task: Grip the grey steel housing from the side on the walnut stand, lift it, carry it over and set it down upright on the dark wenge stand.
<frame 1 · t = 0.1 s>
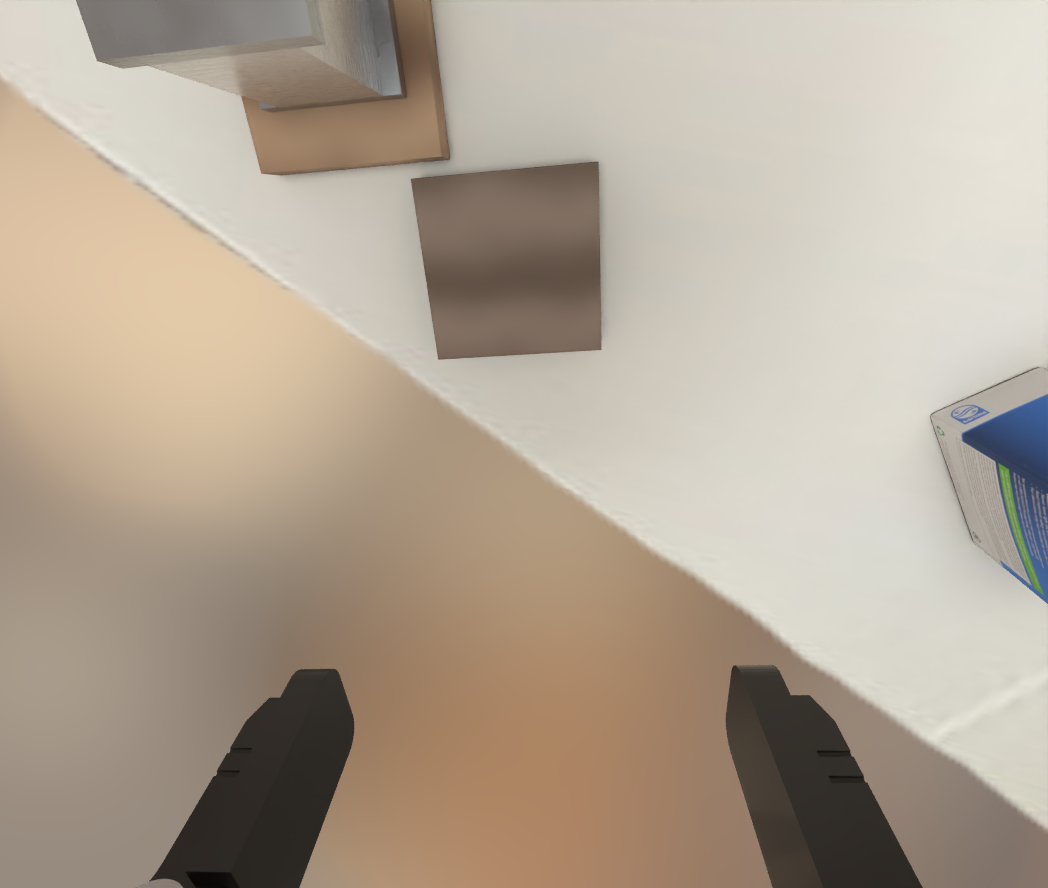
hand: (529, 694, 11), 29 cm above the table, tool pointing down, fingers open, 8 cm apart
housing: (328, 51, 28), point 2 cm above the table, touching stand a
stand b: (514, 264, 35), on the table
string lights box: (998, 460, 39), on the table
stand a: (345, 62, 31), on the table
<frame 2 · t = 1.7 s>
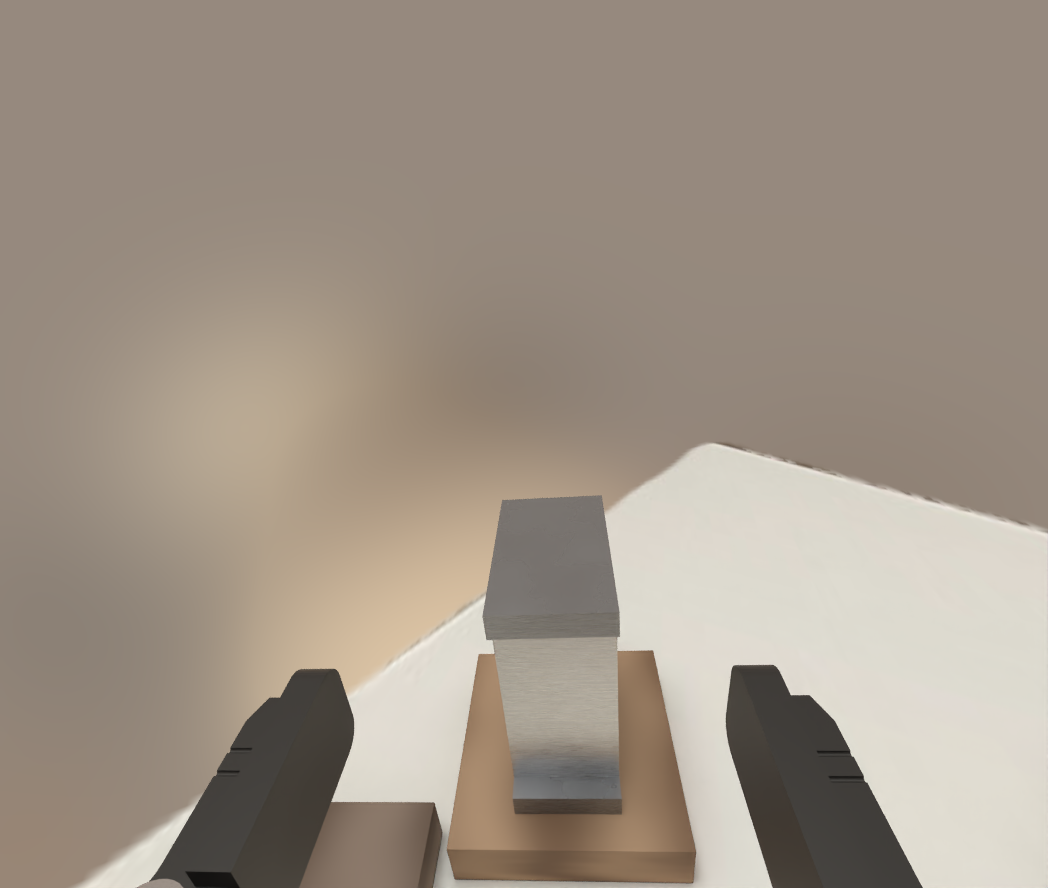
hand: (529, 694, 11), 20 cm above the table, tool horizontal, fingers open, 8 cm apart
housing: (566, 734, 28), point 2 cm above the table, touching stand a
stand a: (568, 763, 29), on the table
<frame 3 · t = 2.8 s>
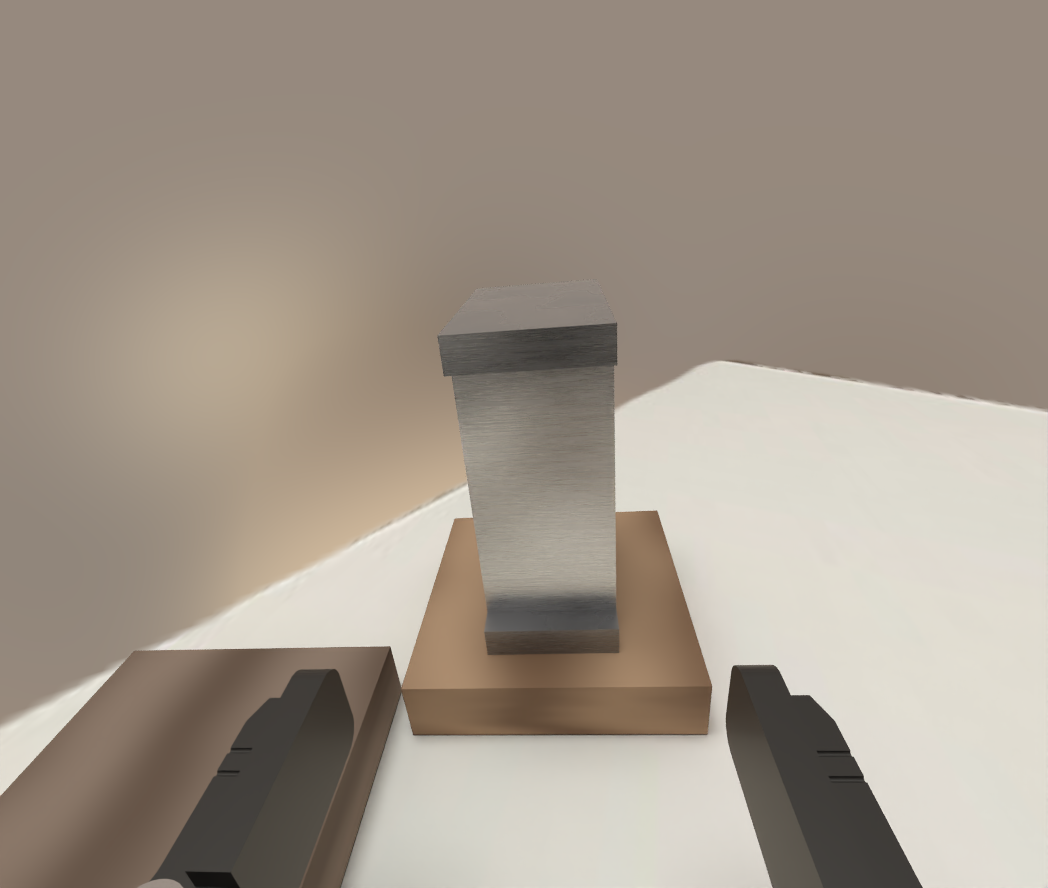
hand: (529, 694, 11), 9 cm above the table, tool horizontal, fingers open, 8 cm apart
housing: (553, 582, 23), point 2 cm above the table, touching stand a
stand b: (197, 833, 17), on the table
stand a: (556, 624, 24), on the table
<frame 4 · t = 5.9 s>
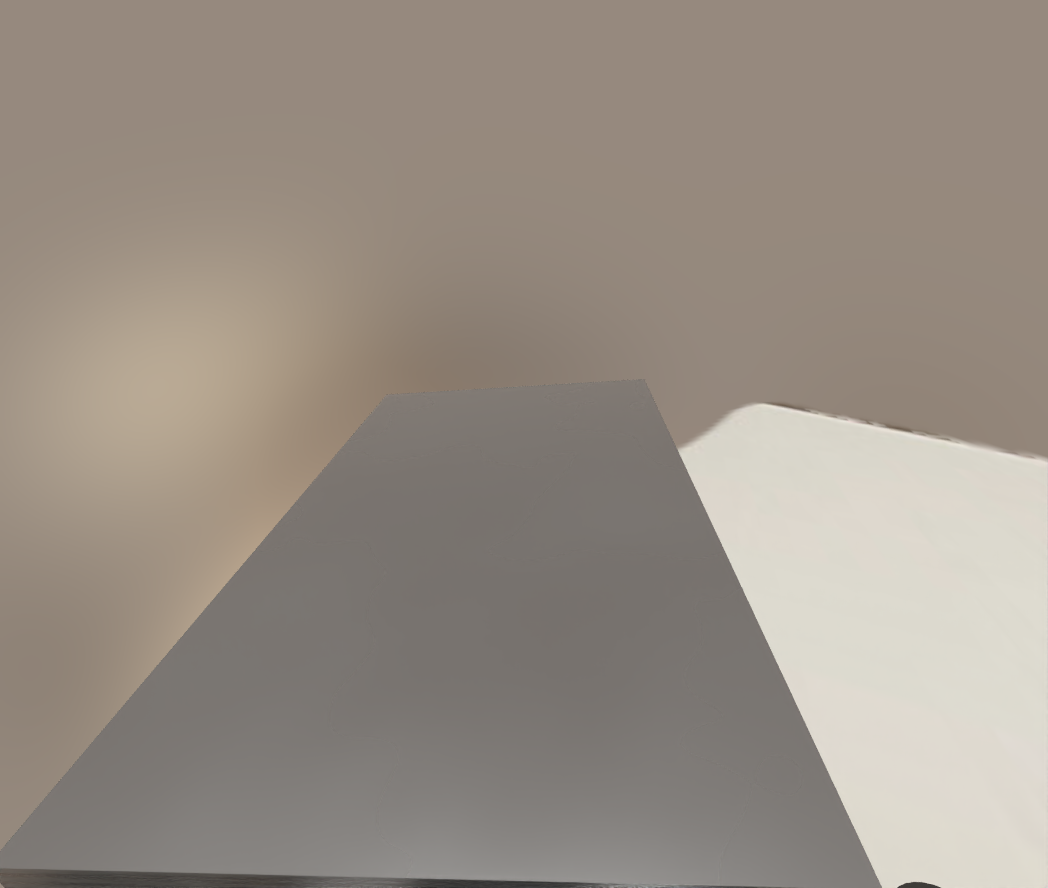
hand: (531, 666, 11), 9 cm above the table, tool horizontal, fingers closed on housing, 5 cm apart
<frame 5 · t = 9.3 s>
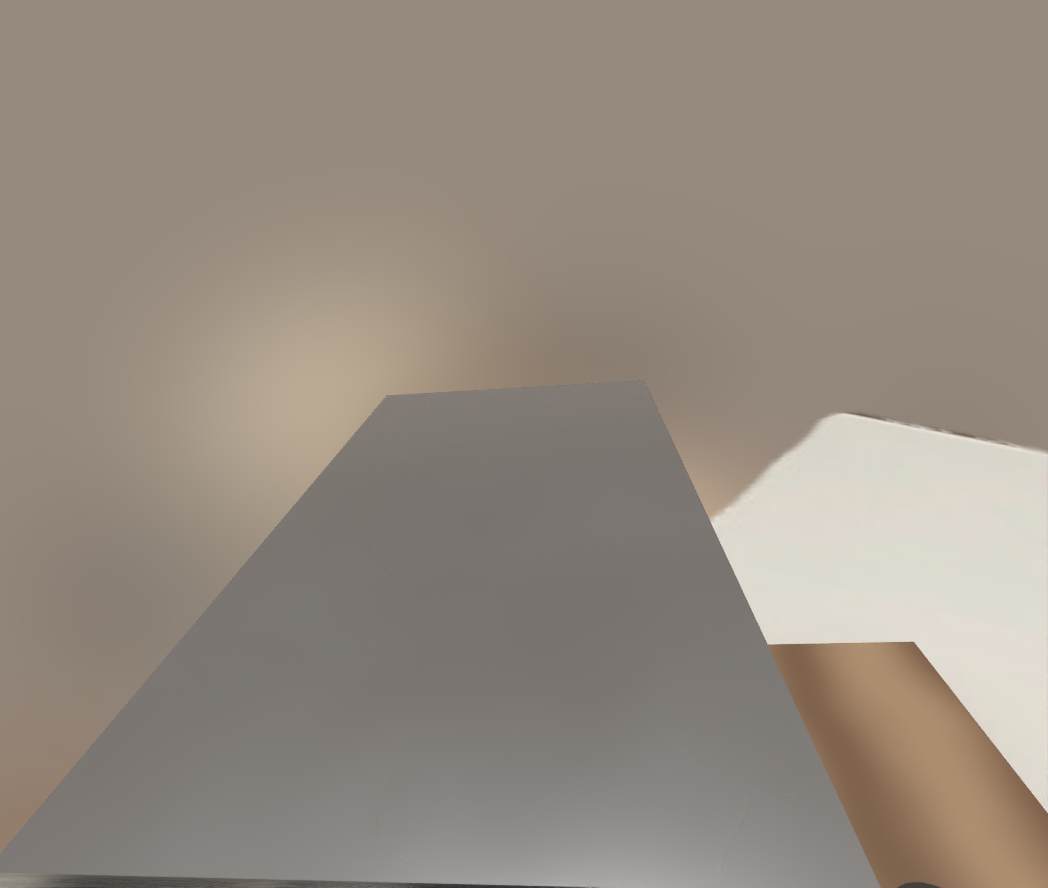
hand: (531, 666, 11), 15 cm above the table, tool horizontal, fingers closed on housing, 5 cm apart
stand a: (843, 785, 23), on the table
when the fingers open (10 cm above the table, at t = 10.6 s): housing drops 1 cm, resting on stand b.
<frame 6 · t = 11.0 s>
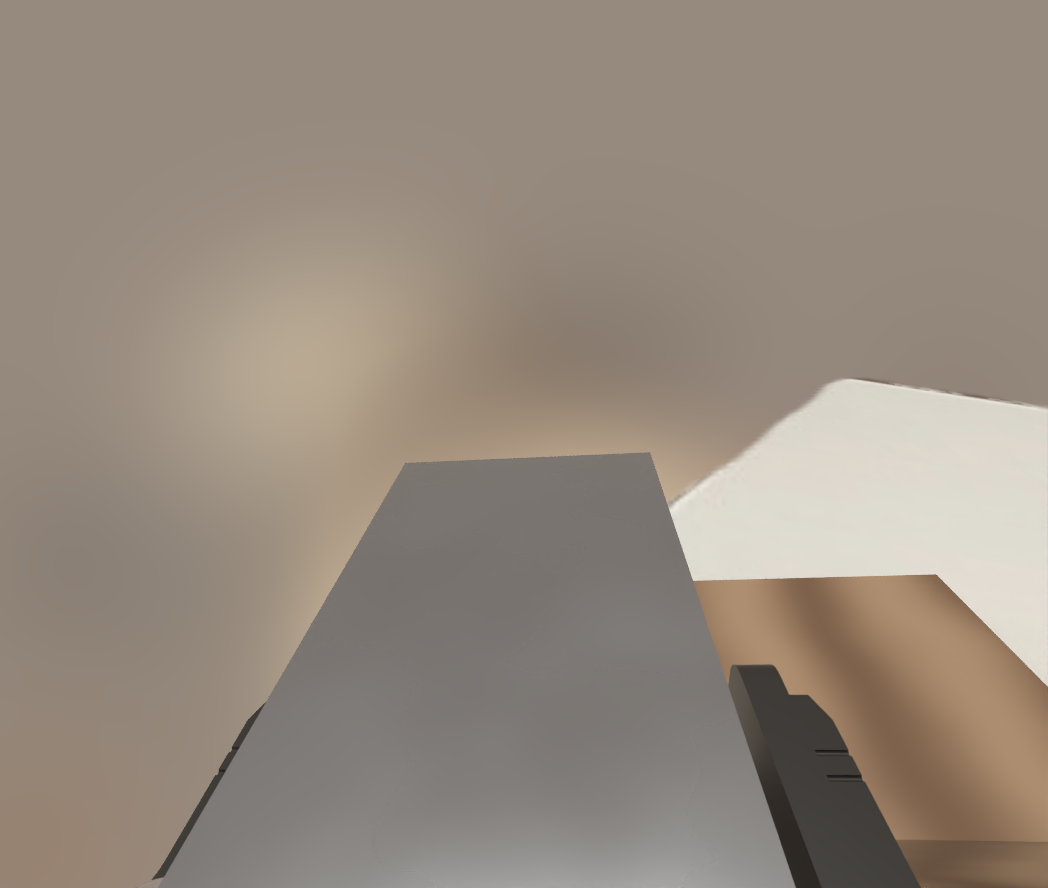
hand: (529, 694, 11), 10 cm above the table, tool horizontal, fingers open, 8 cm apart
stand a: (862, 720, 20), on the table
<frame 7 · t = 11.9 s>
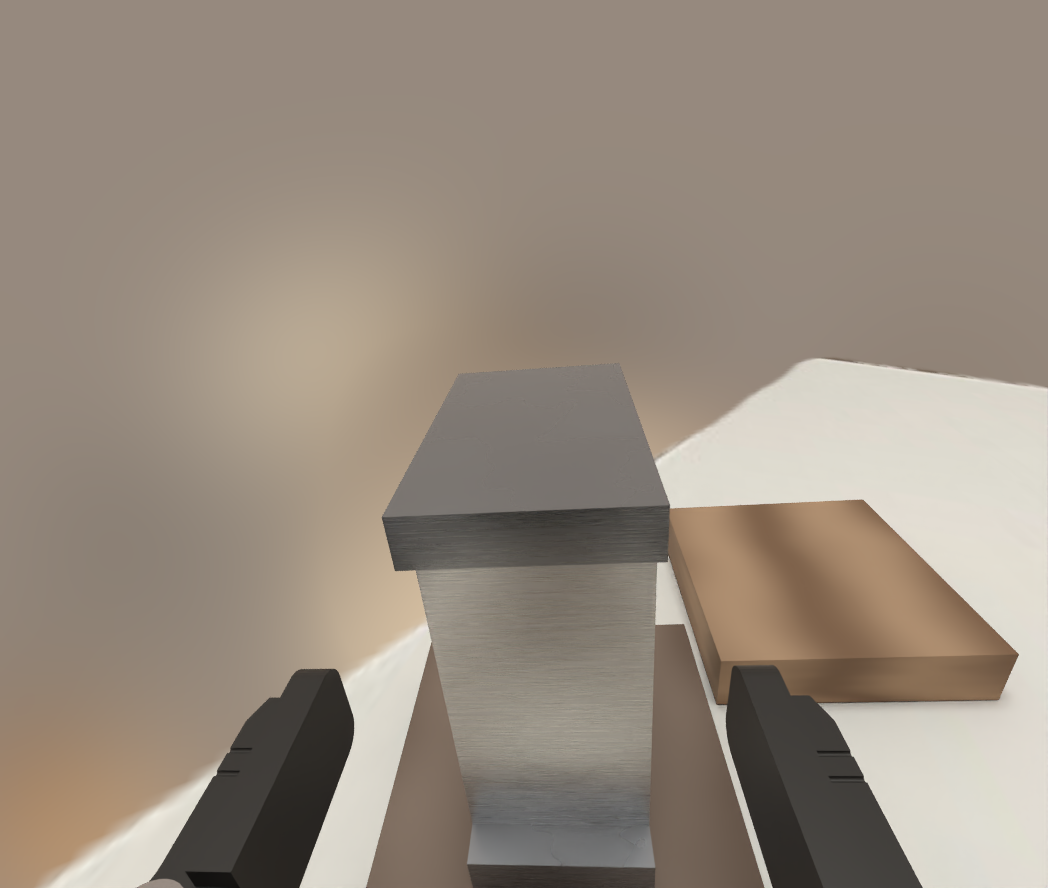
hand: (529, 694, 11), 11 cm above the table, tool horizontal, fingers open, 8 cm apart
housing: (561, 749, 18), point 2 cm above the table, touching stand b
stand b: (562, 791, 19), on the table
stand a: (797, 605, 26), on the table
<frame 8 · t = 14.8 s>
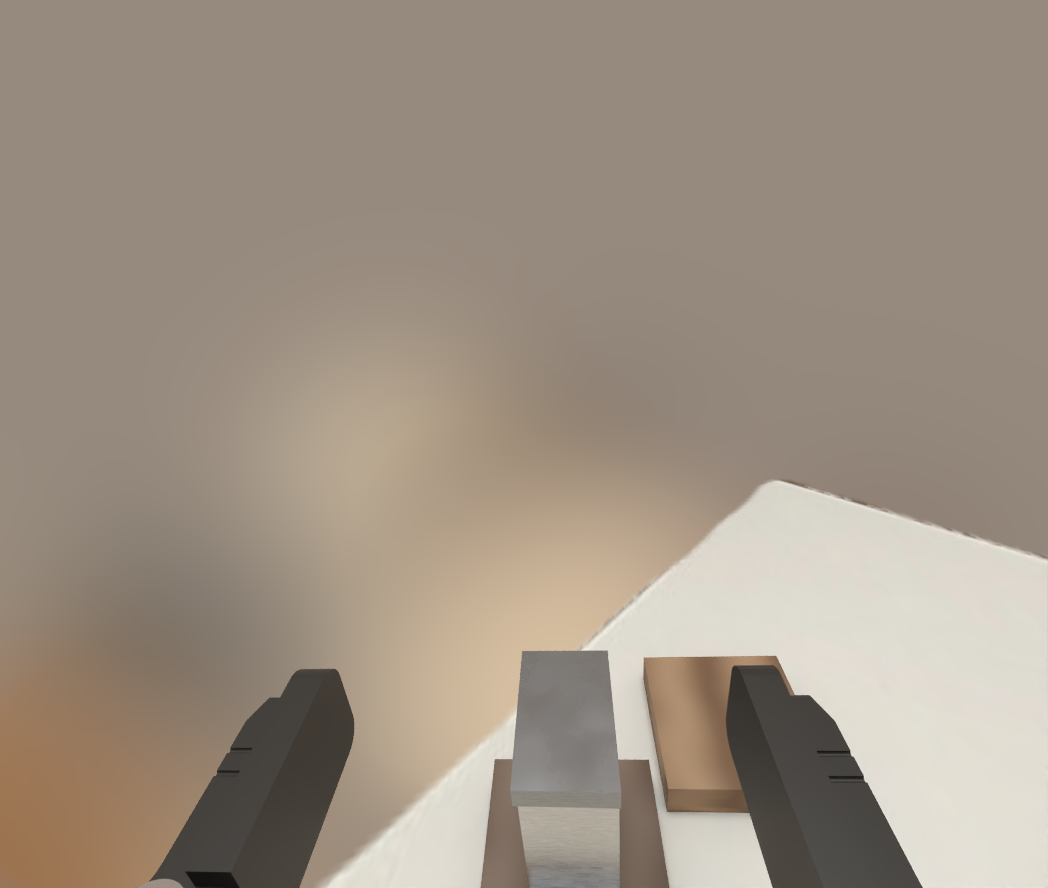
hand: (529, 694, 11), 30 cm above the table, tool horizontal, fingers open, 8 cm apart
housing: (574, 847, 32), point 2 cm above the table, touching stand b
stand b: (574, 868, 33), on the table
stand a: (725, 736, 41), on the table
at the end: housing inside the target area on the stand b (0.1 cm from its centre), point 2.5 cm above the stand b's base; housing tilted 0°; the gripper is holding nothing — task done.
